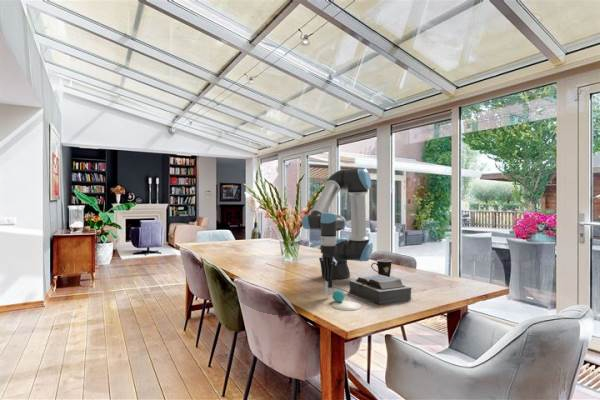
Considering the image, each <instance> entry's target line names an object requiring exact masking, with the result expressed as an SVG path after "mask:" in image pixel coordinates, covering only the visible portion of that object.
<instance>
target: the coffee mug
mask: <svg viewBox="0 0 600 400" xmlns="http://www.w3.org/2000/svg"><path fill="white" fill-rule="evenodd" d="M373 265H376V266H377V270H376V269H375V268H374V267H373ZM371 269H372V270H373V271H374V272H376V273H377V275H379V274H380V275H383V276H387V277H391V271H392V260H391V259H385V258H384V259H383V258H382V259H377V260H376V262H373V263H372V264H371Z"/></svg>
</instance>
